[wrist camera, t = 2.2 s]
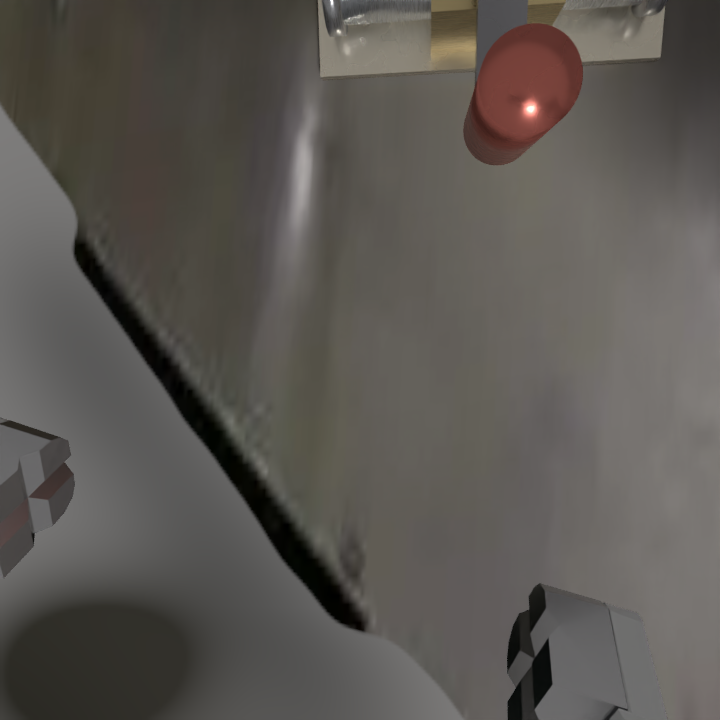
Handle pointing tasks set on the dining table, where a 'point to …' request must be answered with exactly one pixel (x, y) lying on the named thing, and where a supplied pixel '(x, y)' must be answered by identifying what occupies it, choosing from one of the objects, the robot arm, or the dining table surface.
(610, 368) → the dining table surface
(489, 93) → the lever
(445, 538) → the dining table surface
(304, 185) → the dining table surface
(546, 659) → the robot arm
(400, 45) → the pipe valve
